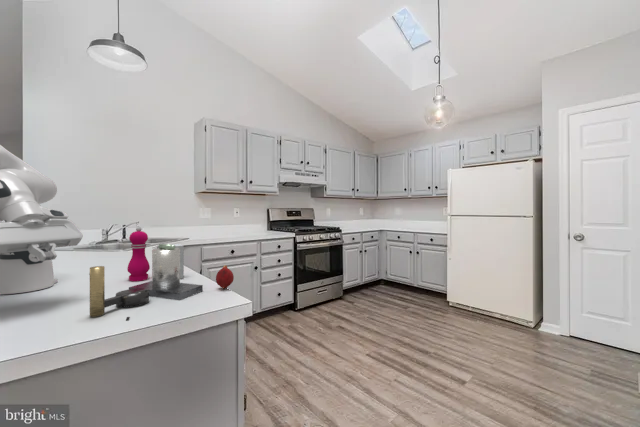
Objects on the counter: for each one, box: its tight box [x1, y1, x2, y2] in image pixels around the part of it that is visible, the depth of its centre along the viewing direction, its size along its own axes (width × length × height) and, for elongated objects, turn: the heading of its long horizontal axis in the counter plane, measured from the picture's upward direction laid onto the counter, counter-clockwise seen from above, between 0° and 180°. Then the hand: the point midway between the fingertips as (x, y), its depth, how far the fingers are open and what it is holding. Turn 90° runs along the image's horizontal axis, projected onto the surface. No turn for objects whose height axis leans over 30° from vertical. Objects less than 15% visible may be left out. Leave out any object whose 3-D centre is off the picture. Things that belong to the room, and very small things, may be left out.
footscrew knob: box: [89, 265, 150, 318], centre depth 80 cm, size 8×16×12 cm, turn 163°
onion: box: [215, 264, 235, 289], centre depth 101 cm, size 6×6×8 cm
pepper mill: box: [126, 226, 151, 283], centre depth 112 cm, size 7×7×20 cm
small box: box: [156, 243, 185, 280], centre depth 114 cm, size 8×6×13 cm
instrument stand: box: [125, 243, 204, 321], centre depth 87 cm, size 20×27×16 cm
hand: (49, 258), depth 77 cm, fingers closed
